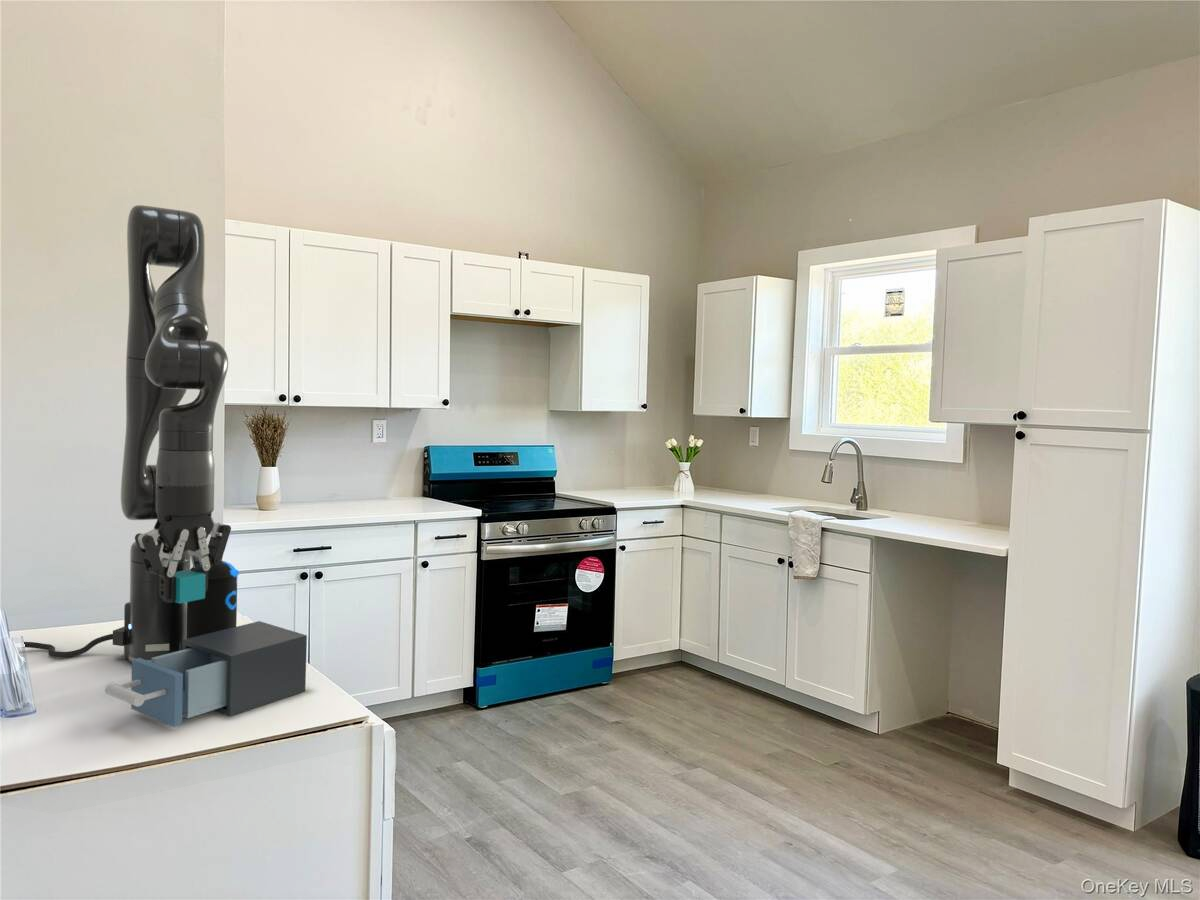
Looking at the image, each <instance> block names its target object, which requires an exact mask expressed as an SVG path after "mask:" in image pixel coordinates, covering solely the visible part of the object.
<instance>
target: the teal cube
mask: <svg viewBox="0 0 1200 900" xmlns="http://www.w3.org/2000/svg"><path fill="white" fill-rule="evenodd" d="M174 576H175V577H176V601H175V602H176V603H179V604H180V603H185V602H190V601H195V600H200V599H205V574H203V573H199V572H195V571H191V570H184V571H179V572H175V575H174Z"/></svg>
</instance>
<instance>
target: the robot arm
mask: <svg viewBox="0 0 1200 900" xmlns="http://www.w3.org/2000/svg"><path fill="white" fill-rule="evenodd" d="M126 225H127V226H126V227H127V228H126V229H127V230H126V246H127V247H126V249H127V250H126V251H127V276H128V278H127V279H128V322H127V323H128V325H127V339H126V340H127V341H126V354H125V356H126V358H125V363H126V364H125V397H126V398H125V402H126V403H125V415H126V416H125V421H126V422H125V435H124V436H125V437H124V448H123V459H122V469H121V470H122V471H121V483H120V506H121V511H122V513H123V515H124V517H125V518H126V519H127V520H129V521H152V520H153V521H154V520H156V522H155V524H154V527H153V529H151V530H149V531H146V532H144V533H141V532H140V533H138V532H137V533H136V534H135V535H134V542H132V543H131V545H130V549H129V550H130V552H129V553H130V555H129V559H130V560H129V564H130V565H129V579H130V580H129V601H128V602H126V603H125V604H124V611H123V613H124V614H123V615H124V617H123V618H124V619H123V625H124V626H121V627H118V628H116V629H114V630H112V633H109V634H106V635H102V636H99V637H96V638H95V639H92V640H91V641H90V642H89V643H87V644H86V645H85V646H83V647H80V648H78V649H75V650H69V651H56V647H55V646H54V645H53V644H49V643H42V642H36V641H35V642H34V641H23V642H24V644H25V647H24V648H30V649H38V650H44V651H47V653H48V656H50V657H53V658H71V657H77V656H80V655H83V654H85V653H87V652H89V651H90V650H91V649H92V648H94V647H95V646H96V645H98V644H101V643H104V642H107V641H111V640H112V646H118V647H119V646H120V647H123V659H125V660H128V661H129V662H131V663H132V660H133V659H137V658H142V659H144V660H147V661H150V662H151V658H153V657H157V656H161V655H165V654H169V653H173V652H177V651H181V650H183V640H184V639H187V602H185V603H180V604H179V603H176V602H175V601H176V577H175V576H174V575H175V572H179V571H184V570H190V569H191V564H192V567H194V568H195V570H192V571H195V572H199V573H203V574H205V592H207V589H208V571H209V569H210V568H211V567H212V566H214V565H215V564H216V565H218V564H220V563H221V561H223V557H224V554H225V550H226V547H227V544H228V540H229V538H230V534H231V531H232V527H231V525H229V524H225V523H219V522H215V520H214V518H213V516H212V513H213V512H214V509H215V457H214V422H215V415H216V409H217V405H218V401H219V397H220V394H221V392H222V389H223V387H224V386H223V385H224V383H225V379H226V377H227V373H228V370H229V357H228V353H227V351H226V349H225V348H224V347H223V346H222V345H221V344H220V343H219V342H217V341H215V340H207V339H208V337H209V324H208V323H209V322H208V317H207V311H206V304H205V296H204V295H205V280H206V279H205V276H206V239H205V237H206V236H205V229H204V224H203V222H202V220H201V218H200V217H199V215H198V214H195V213H193V212H191V211H185V210H181V209H173V208H166V207H158V206H150V205H144V204H143V205H141V204H136V205H134V206H132V208H131V209H130V211H129V213H128V219H127V224H126ZM151 266H156V267H164V268H165V267H167V268H175V269H177V270H176V271H175V272H173V273H172V274H171V275H170V276H169V277H168V278H166V279H165V280H164V281H163V282H162V283H161V285H159V287H158V289H157V290H156V288H155V286H154V282H153V279H152V275H151ZM188 390H197V391H199V392H198V395H197V397H196V398H194V400H193V401H191V402H188V403H185V404H180V403H181V402H182V400H183V398H184V397H185V395H186V393H187V391H188ZM157 435H158V451H157V458H156V464H147V461H148V456H149V453H150V449H151V448H152V445H153V442H154V440H155V438H156V436H157ZM209 535H210V538H209ZM208 538H209V541H207V539H208Z"/></svg>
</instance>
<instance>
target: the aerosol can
mask: <svg viewBox="0 0 1200 900" xmlns="http://www.w3.org/2000/svg"><path fill="white" fill-rule="evenodd" d="M190 570H191V571H192V570H195V568H194V567H193V566H192V567H190ZM239 575H240V571H239V570H238V569H237V568H236V567H235V566H234V565H233V564H232V563H230V562H227V561H225V560H221V563H220V564H218V565H216V564H215V565H214V566H212V567H211V568H210V569H209V571H208V589H207V592H205V599H200V600H195V601H190V602H187V639H188V638H192V637H196V636H200V635H204V634H208V633H213V632H217V631H221V630H225V629H229V628H233V627H237V616H238V615H237V611H238V576H239Z"/></svg>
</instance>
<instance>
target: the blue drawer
mask: <svg viewBox="0 0 1200 900" xmlns="http://www.w3.org/2000/svg"><path fill="white" fill-rule="evenodd" d="M227 674H228V660H226V659H223V658H220V657H218V656H215V655H212V654H209V653H206V652H203V651H200V650H197V649H194V648H189V649H185V650H181V651H177V652H173V653H169V654H165V655H161V656H157V657H153V658H151V662H150V661H147V660H144V659H142V658H137V659H133V660H132V662H131V680H130V681H127V682H124V683H120V684H118V683H115V682H109V683H108V684H107V685H106V686H105V688H104V693H105V694H106V695H108V696H111V697H113V698H114V699H118V700H119V701H121V702H125V703H127V704H129V705H130V709H131V710H133V711H135V712H137V713H140V714H142V715H145V716H147V717H149V718H151V719H154V720H156V721H159V722H161V723H164V724H166V725H168V726H171V727H173V728H177V727H179V726H182V725H183V717H184V718H186V719H191V718H193V717H196V716H200V715H203V714H205V713H208V712H211V711H215V709H218V708H221V707H224V706H227ZM129 688H131V689H129Z"/></svg>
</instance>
